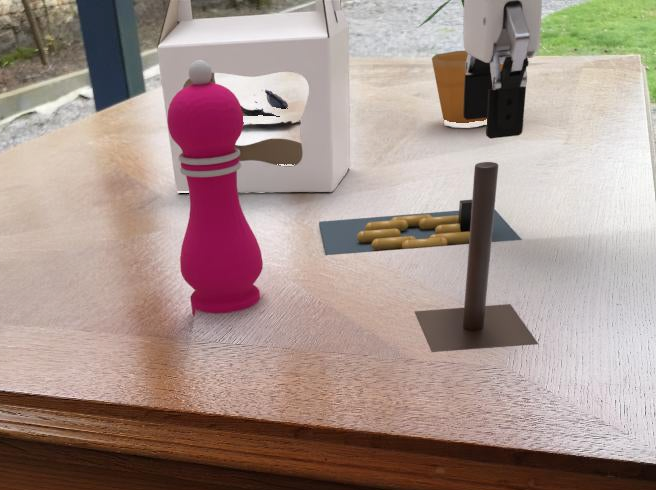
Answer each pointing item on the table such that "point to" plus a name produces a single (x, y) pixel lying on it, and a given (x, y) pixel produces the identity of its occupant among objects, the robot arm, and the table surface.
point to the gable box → (262, 59)
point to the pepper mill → (213, 197)
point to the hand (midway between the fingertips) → (490, 126)
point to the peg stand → (477, 287)
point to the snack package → (272, 100)
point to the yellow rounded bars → (446, 228)
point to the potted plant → (451, 81)
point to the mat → (344, 232)
